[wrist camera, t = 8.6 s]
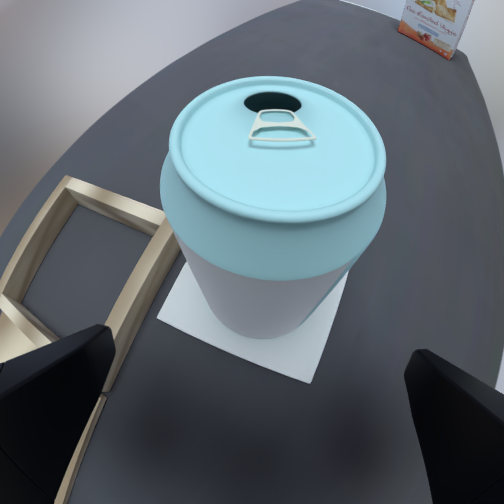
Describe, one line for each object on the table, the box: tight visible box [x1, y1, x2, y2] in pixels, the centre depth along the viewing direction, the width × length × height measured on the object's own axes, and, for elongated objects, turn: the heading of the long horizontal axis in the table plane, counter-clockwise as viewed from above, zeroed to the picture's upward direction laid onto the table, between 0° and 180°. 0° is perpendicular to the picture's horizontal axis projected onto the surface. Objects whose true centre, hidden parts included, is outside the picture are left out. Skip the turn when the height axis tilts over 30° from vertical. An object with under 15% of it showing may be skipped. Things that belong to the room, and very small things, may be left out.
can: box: [160, 76, 386, 338], centre depth 12 cm, size 7×7×12 cm
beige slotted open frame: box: [0, 175, 181, 504], centre depth 15 cm, size 12×24×2 cm, turn 157°
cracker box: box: [398, 0, 474, 60], centre depth 33 cm, size 14×6×21 cm, turn 47°
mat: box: [157, 261, 349, 384], centre depth 18 cm, size 10×10×1 cm
